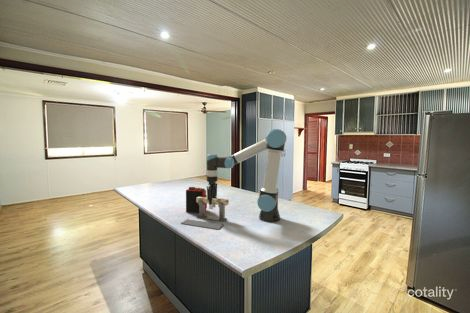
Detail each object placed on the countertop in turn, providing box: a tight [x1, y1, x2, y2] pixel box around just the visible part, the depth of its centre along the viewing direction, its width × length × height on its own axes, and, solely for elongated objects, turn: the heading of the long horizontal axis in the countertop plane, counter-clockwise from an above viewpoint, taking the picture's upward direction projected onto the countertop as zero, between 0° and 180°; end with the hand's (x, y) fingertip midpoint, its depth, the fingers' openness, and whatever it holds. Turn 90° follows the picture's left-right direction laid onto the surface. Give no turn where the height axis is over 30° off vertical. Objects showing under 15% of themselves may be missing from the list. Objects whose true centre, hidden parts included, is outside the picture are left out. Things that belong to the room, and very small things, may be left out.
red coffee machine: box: [185, 186, 208, 214], centre depth 181 cm, size 16×10×20 cm, turn 74°
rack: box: [196, 201, 228, 223], centre depth 165 cm, size 21×6×13 cm, turn 70°
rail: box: [196, 197, 230, 207], centre depth 164 cm, size 24×4×4 cm, turn 70°
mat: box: [180, 219, 224, 231], centre depth 153 cm, size 28×8×1 cm, turn 70°
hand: (212, 207), depth 165 cm, fingers closed on rail, 3 cm apart
